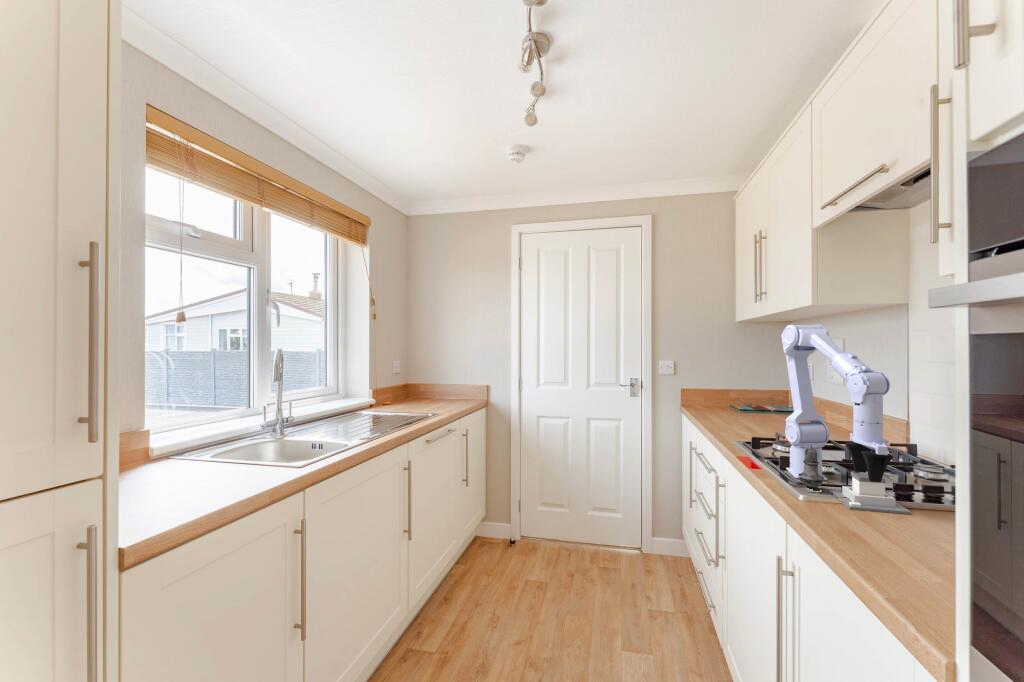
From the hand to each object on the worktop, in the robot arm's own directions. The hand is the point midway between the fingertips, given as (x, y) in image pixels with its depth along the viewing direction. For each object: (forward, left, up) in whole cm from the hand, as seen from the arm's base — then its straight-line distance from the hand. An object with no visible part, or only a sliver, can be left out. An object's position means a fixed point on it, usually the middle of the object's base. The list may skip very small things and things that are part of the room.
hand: (867, 476), depth 111 cm
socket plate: (0, 0, -6) cm, 6 cm away
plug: (0, 0, -6) cm, 6 cm away
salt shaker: (-7, -10, -7) cm, 14 cm away
